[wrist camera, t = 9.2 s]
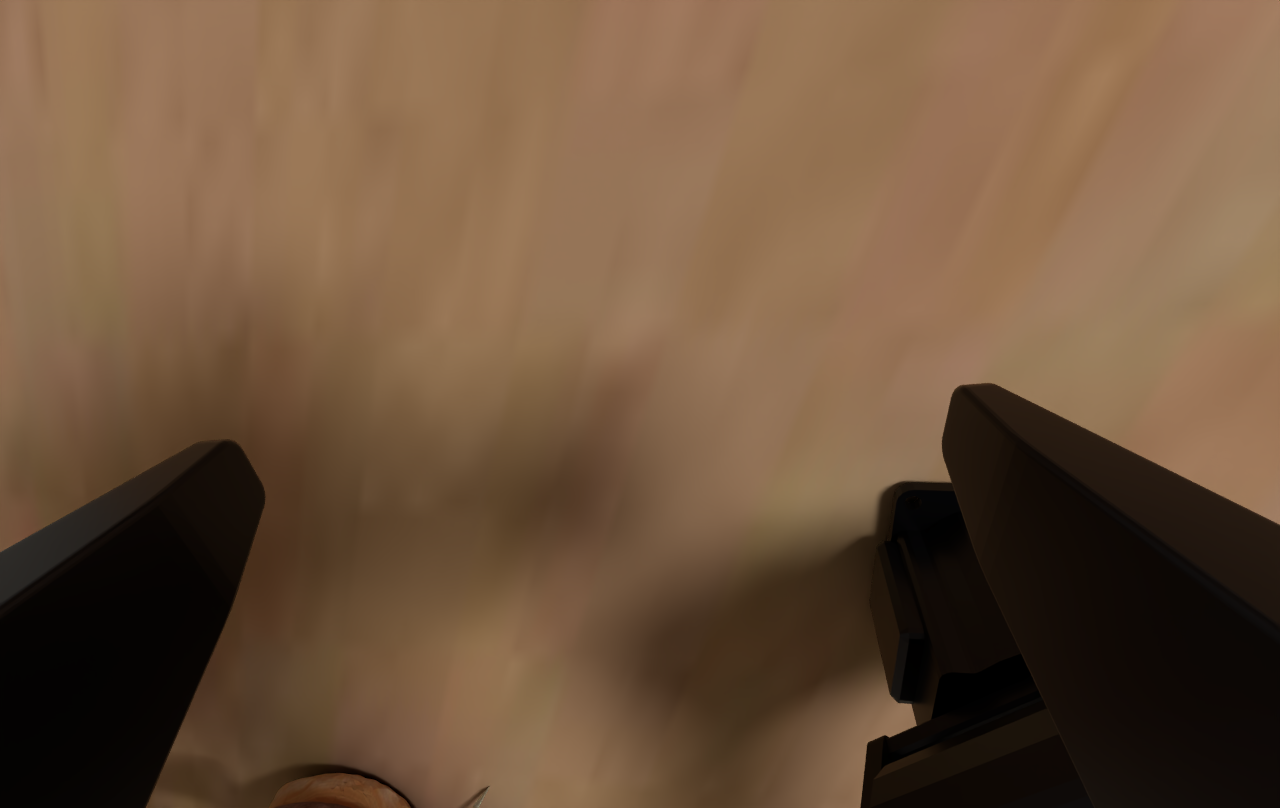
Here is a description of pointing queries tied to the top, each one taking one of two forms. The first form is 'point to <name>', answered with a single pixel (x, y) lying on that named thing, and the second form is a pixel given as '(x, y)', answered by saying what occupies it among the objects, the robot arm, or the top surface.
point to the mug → (337, 793)
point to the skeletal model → (480, 799)
